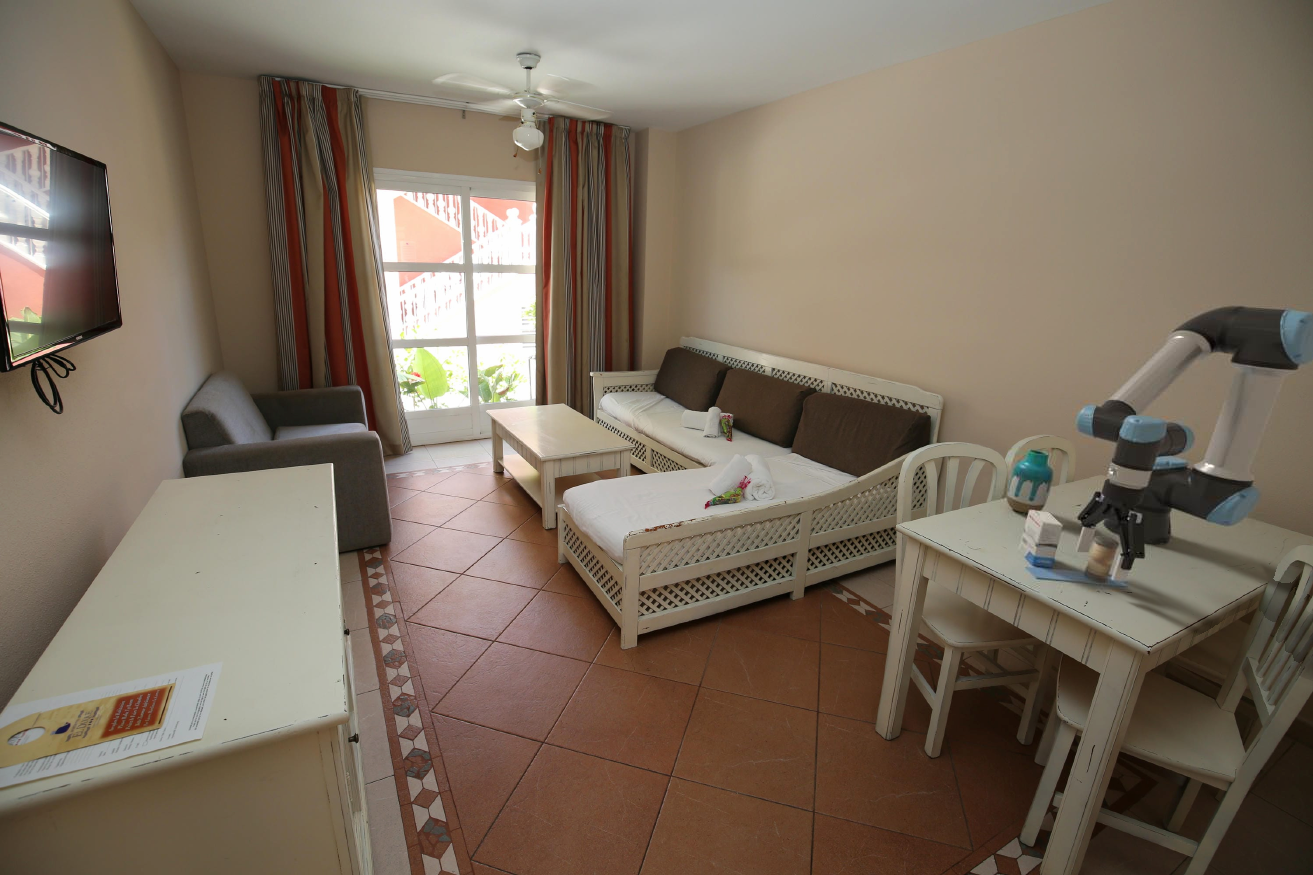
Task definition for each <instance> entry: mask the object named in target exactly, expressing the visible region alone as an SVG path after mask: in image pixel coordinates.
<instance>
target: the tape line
mask: <svg viewBox="0 0 1313 875" xmlns="http://www.w3.org/2000/svg"><path fill="white" fill-rule="evenodd" d="M1025 570H1027V571H1028V572H1029V573H1030V574H1031V575H1032V576H1033V577H1034V578H1035V579H1040V580H1041V579H1042V580H1049V581H1050V580H1052V581H1061V582H1062V581H1063V582H1070V583H1071V582H1073V583H1083V584H1095V585H1105V586H1114V587H1115V586H1116V587H1126V588H1128V587H1129V585H1128V584H1126V583H1125V581H1115V580H1112V579H1111V577H1112V574H1113V573H1111V574H1110V573H1109V577H1108V580H1107V581H1106V582H1105V583H1100V582H1095V581H1092V580H1090V579H1088V578H1087V577H1085V575H1084V574H1085V571H1076V570H1067V569H1066V570H1065V569H1058V568H1057V569H1055V568H1047V567H1035V566H1025Z"/></svg>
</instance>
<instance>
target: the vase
mask: <svg viewBox="0 0 1313 875" xmlns="http://www.w3.org/2000/svg"><path fill="white" fill-rule="evenodd" d="M1049 456H1050V454H1049V453H1048V452H1047V451H1044V450H1039V449H1028V450H1027V454H1026V456H1025V458H1024V459H1023V460H1020V461H1018V462H1017V463H1016V464H1015V465H1014V467H1013V469H1012V472H1011V475H1010V479H1009V481H1008V486H1007V493H1006V501H1007V502H1006V503H1007V504H1008V505H1009V507H1011V508H1012V509H1013V510H1015V511H1016V512H1020V513H1024V514H1028V513H1029V510H1036V511H1042V510H1043V509H1044V507H1045V506H1046V504H1047V502H1048V499H1049V495H1050V493H1051V488H1052V484H1053V481H1054V480H1053V479H1054V471H1053V469H1052V467H1051V466H1050V465H1049V464H1048V463H1049V458H1050V457H1049Z"/></svg>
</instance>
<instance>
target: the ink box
mask: <svg viewBox="0 0 1313 875" xmlns="http://www.w3.org/2000/svg"><path fill="white" fill-rule="evenodd" d="M1063 528H1064V525H1063V524H1062V523H1061V522H1060V521H1059V520H1057V519H1056V518H1055V517H1054V516H1053V515H1052V514H1051V513H1050V512H1048V511H1042V510H1041V511H1036V510H1029V513H1027V518H1026V520H1025V525H1024V528H1023V531H1022V532H1023V533H1022V535H1021V536H1022V537H1021V540H1020V544H1019V548H1018V551H1019V552H1020V553H1021V554H1022V556H1024V557H1025V559H1026V560H1027V561H1028V562H1029V563H1030V564H1031V565H1032V566H1033V567H1035V566H1037V567H1042V568H1053V564H1054V562H1055V557H1056V553H1057V549H1058V545H1059V541H1060V538H1061V534H1062V531H1063Z"/></svg>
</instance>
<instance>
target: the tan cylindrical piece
mask: <svg viewBox="0 0 1313 875" xmlns="http://www.w3.org/2000/svg"><path fill="white" fill-rule="evenodd" d="M1093 541H1094V542H1093V546H1092V548H1091V552H1090V554H1089V558H1088V562H1087V565H1086V567H1085V569H1084V572H1085V574H1084V575H1085V577H1087V578H1088V579H1090V580H1092V581H1095V582H1100V583H1105V582H1106V581H1107V580H1108V577H1109V574H1110V573H1111V569H1112V566H1113V562H1114V560H1115V556H1116V554H1117V549H1118V548H1119V546H1120V542H1119V541H1117V540H1116V539H1113V538H1111V537H1108V536H1103V535H1100V536H1098V535H1097V536H1095V537H1094V539H1093Z"/></svg>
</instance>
